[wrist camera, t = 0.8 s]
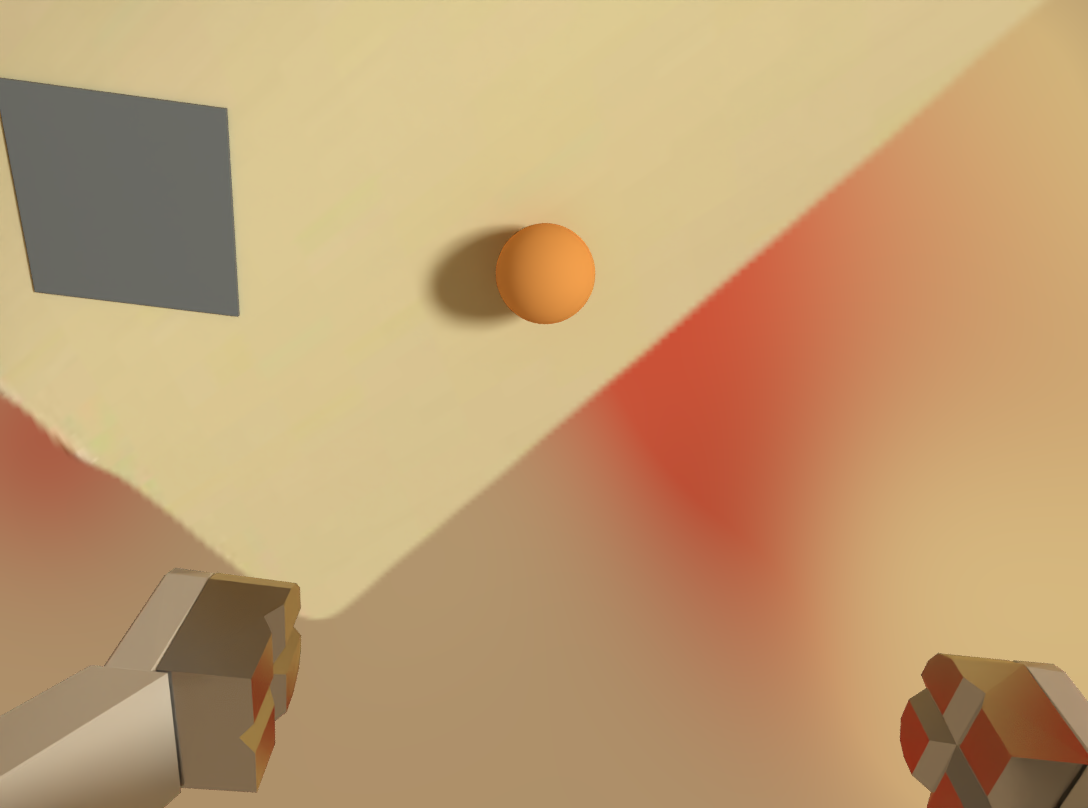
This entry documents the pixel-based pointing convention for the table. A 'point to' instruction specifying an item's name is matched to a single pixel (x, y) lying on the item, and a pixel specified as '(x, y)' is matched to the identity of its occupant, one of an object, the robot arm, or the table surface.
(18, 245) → the table surface
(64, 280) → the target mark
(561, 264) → the ball
